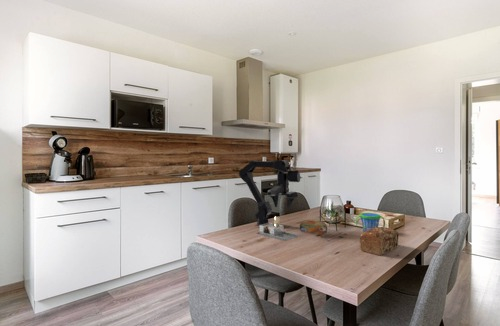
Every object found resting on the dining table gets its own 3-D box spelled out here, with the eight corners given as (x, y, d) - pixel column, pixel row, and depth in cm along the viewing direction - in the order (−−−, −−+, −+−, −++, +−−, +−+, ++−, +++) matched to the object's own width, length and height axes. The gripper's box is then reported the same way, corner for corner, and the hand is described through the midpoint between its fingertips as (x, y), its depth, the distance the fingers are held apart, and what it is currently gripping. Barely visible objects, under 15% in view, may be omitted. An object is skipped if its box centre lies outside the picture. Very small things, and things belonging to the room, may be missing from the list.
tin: (299, 234, 159) (299, 219, 159) (301, 232, 162) (301, 218, 162) (326, 237, 152) (326, 222, 152) (327, 236, 155) (327, 221, 155)
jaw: (269, 234, 152) (269, 217, 152) (279, 231, 158) (279, 215, 158) (273, 235, 150) (274, 218, 150) (283, 232, 156) (283, 216, 156)
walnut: (267, 232, 157) (267, 227, 157) (271, 231, 159) (271, 226, 159) (271, 233, 154) (271, 228, 154) (276, 232, 157) (276, 227, 157)
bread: (381, 257, 124) (381, 234, 124) (358, 250, 132) (358, 229, 132) (399, 248, 136) (399, 227, 136) (377, 242, 144) (377, 223, 144)
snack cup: (355, 233, 162) (355, 215, 161) (355, 228, 172) (355, 211, 171) (386, 235, 156) (386, 217, 156) (384, 231, 166) (384, 213, 166)
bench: (255, 235, 156) (255, 225, 156) (272, 231, 165) (272, 221, 165) (284, 243, 141) (284, 232, 141) (301, 238, 151) (301, 228, 151)
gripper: (261, 181, 169) (261, 207, 169) (286, 183, 155) (285, 212, 156) (273, 180, 176) (273, 205, 177) (298, 182, 163) (298, 209, 163)
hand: (282, 208), depth 168 cm, fingers open, 9 cm apart
